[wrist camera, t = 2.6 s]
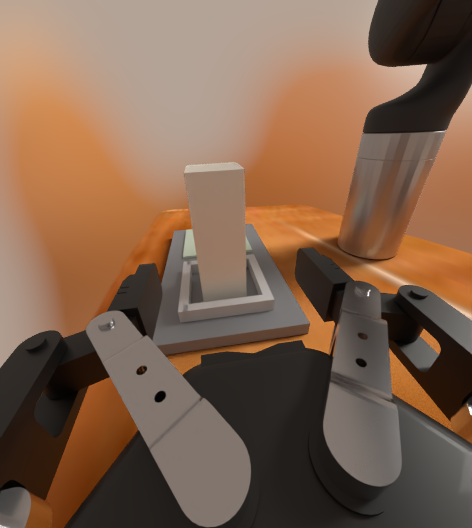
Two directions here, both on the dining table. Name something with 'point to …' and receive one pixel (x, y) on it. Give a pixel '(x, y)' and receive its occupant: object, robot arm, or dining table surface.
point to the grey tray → (223, 302)
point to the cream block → (218, 227)
